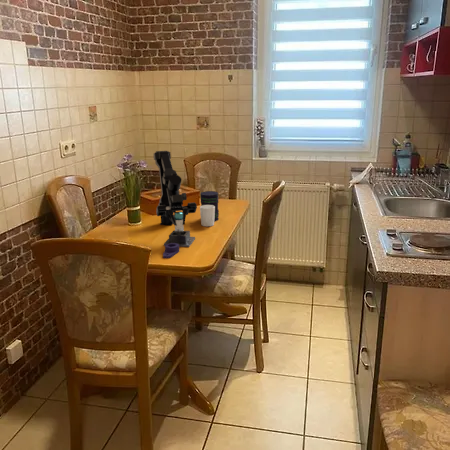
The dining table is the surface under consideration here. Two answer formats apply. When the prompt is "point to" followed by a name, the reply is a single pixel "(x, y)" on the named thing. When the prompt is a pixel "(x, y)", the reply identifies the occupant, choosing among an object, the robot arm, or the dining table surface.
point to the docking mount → (180, 239)
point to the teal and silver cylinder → (179, 223)
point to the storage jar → (210, 201)
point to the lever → (170, 250)
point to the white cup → (207, 215)
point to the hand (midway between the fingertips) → (179, 224)
